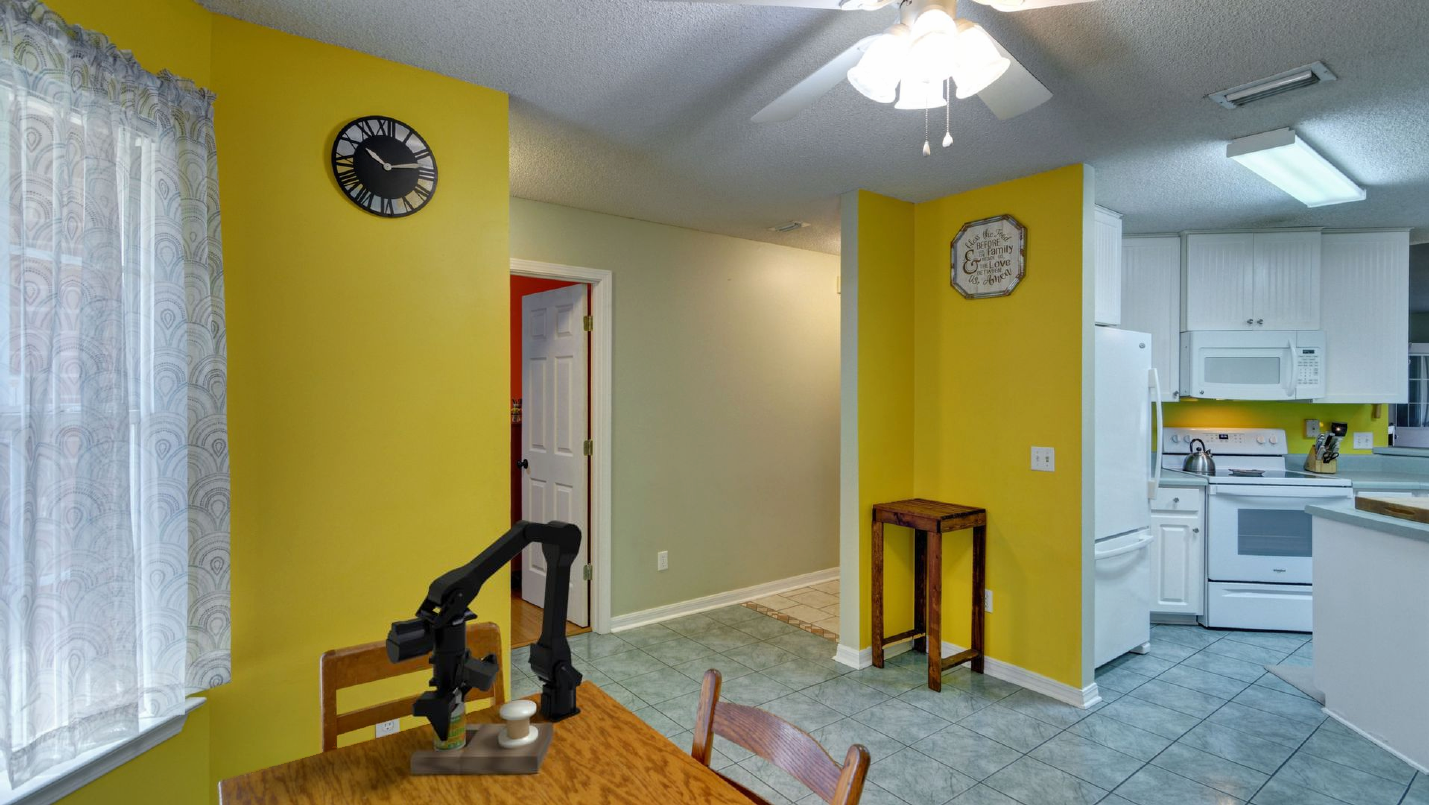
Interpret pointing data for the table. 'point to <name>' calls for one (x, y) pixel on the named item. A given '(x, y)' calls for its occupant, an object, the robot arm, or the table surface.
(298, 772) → the table surface
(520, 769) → the notched board
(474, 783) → the table surface
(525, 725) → the bobbin
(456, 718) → the supplement bottle
